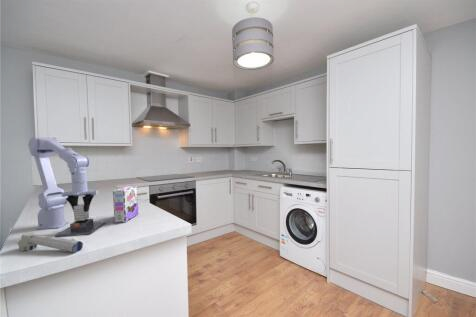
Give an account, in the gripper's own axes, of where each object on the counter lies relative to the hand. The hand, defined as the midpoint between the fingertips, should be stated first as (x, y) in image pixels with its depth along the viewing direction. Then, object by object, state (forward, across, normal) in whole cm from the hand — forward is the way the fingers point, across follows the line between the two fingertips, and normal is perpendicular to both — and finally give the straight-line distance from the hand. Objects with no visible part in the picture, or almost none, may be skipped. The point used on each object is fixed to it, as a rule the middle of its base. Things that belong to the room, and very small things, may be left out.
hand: (81, 211), depth 99 cm
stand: (+9, 0, 0) cm, 9 cm away
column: (+4, 0, 0) cm, 4 cm away
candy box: (+9, +15, +13) cm, 22 cm away
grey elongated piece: (+9, -1, -20) cm, 22 cm away
